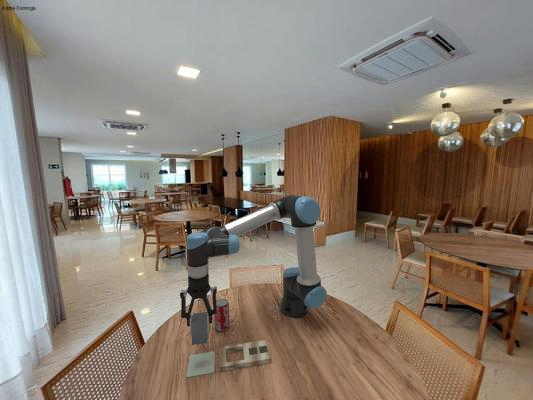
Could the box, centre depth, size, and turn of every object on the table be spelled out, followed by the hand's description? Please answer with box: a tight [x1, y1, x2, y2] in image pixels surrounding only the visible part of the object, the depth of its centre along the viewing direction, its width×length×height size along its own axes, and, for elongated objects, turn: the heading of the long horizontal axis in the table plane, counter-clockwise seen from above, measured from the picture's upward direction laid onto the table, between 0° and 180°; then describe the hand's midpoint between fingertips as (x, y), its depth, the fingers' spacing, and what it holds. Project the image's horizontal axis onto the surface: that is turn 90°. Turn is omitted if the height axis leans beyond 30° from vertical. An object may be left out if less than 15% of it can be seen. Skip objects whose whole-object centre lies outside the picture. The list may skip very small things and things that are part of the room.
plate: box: [219, 339, 272, 373], centre depth 88 cm, size 20×10×2 cm, turn 102°
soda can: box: [213, 298, 231, 332], centre depth 106 cm, size 7×7×13 cm
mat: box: [185, 351, 216, 379], centre depth 85 cm, size 10×10×1 cm
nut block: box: [191, 311, 209, 346], centre depth 84 cm, size 6×6×9 cm
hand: (200, 331), depth 84 cm, fingers closed on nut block, 5 cm apart
